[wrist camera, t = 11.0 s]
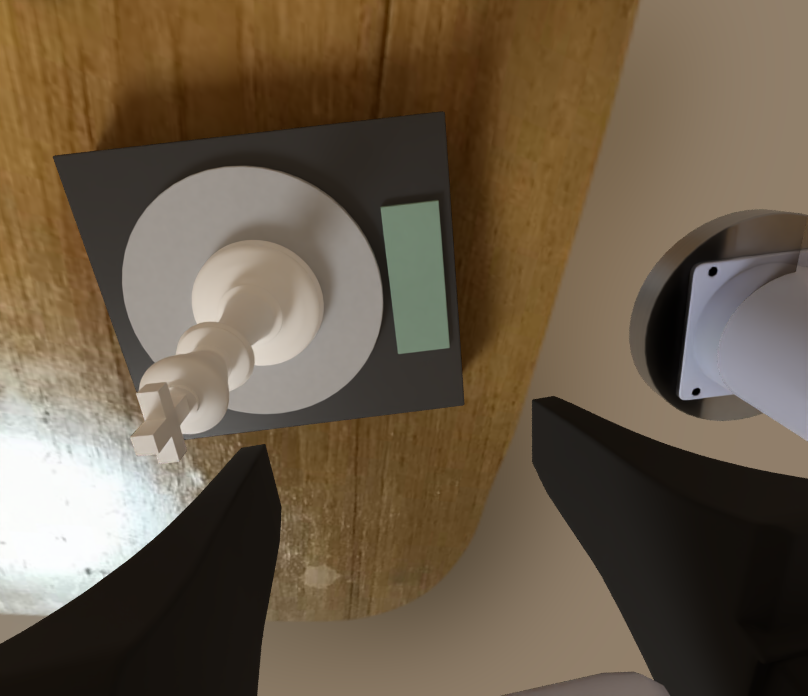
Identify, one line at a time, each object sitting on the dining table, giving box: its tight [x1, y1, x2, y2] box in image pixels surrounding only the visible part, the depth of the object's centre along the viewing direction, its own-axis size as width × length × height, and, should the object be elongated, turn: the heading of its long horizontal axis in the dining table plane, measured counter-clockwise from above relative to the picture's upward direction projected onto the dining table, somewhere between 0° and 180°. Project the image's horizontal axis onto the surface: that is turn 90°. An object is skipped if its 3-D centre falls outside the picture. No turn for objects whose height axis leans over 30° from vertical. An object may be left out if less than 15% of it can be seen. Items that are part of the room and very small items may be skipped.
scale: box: [53, 111, 464, 440], centre depth 20 cm, size 14×12×3 cm
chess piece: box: [130, 240, 324, 464], centre depth 14 cm, size 5×5×10 cm
